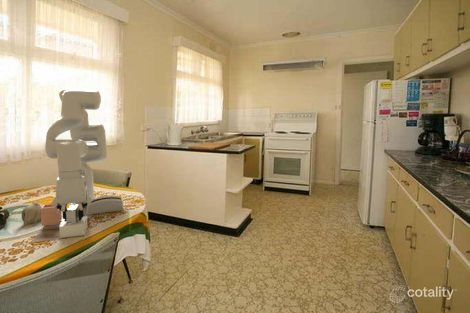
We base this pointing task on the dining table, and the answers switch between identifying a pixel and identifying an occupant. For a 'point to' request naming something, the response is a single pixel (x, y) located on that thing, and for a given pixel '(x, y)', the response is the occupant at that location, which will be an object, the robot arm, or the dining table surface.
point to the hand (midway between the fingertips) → (73, 219)
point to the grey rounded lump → (31, 213)
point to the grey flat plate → (51, 234)
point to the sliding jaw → (50, 215)
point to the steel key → (72, 213)
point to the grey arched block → (104, 205)
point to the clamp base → (62, 221)
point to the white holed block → (73, 228)
